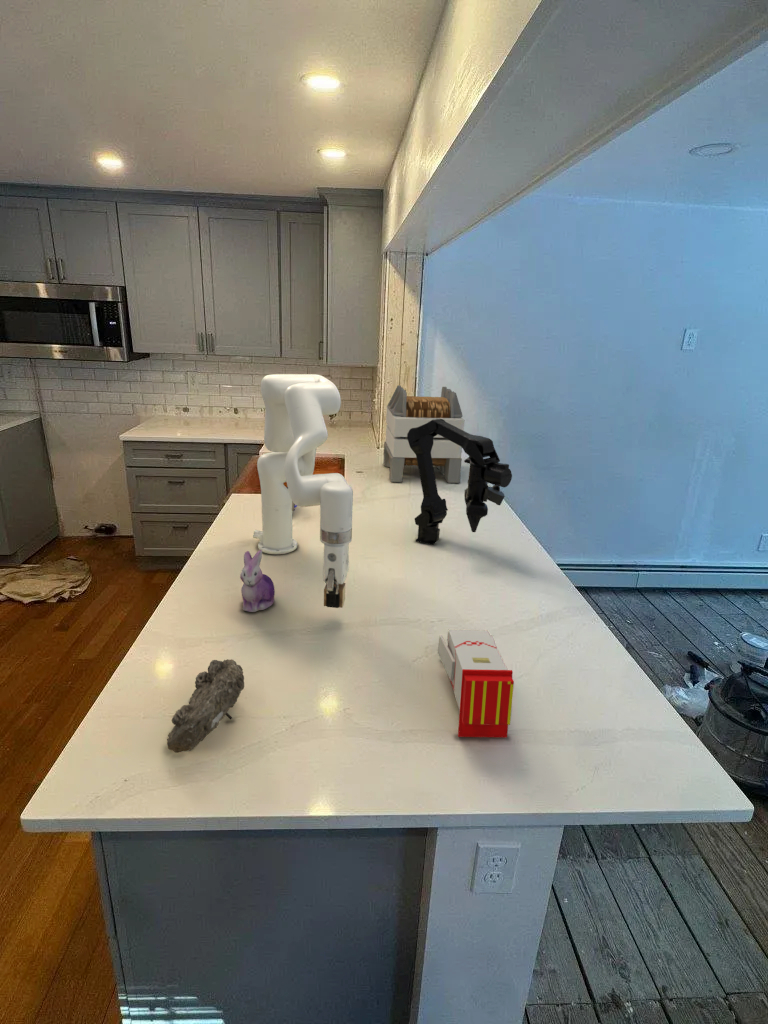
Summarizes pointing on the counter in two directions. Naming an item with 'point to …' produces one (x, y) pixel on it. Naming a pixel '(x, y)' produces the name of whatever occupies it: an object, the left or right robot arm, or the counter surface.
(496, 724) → the toy
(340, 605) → the brown wooden cube
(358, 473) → the counter surface
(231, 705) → the fossil
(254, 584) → the figurine
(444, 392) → the transformer
